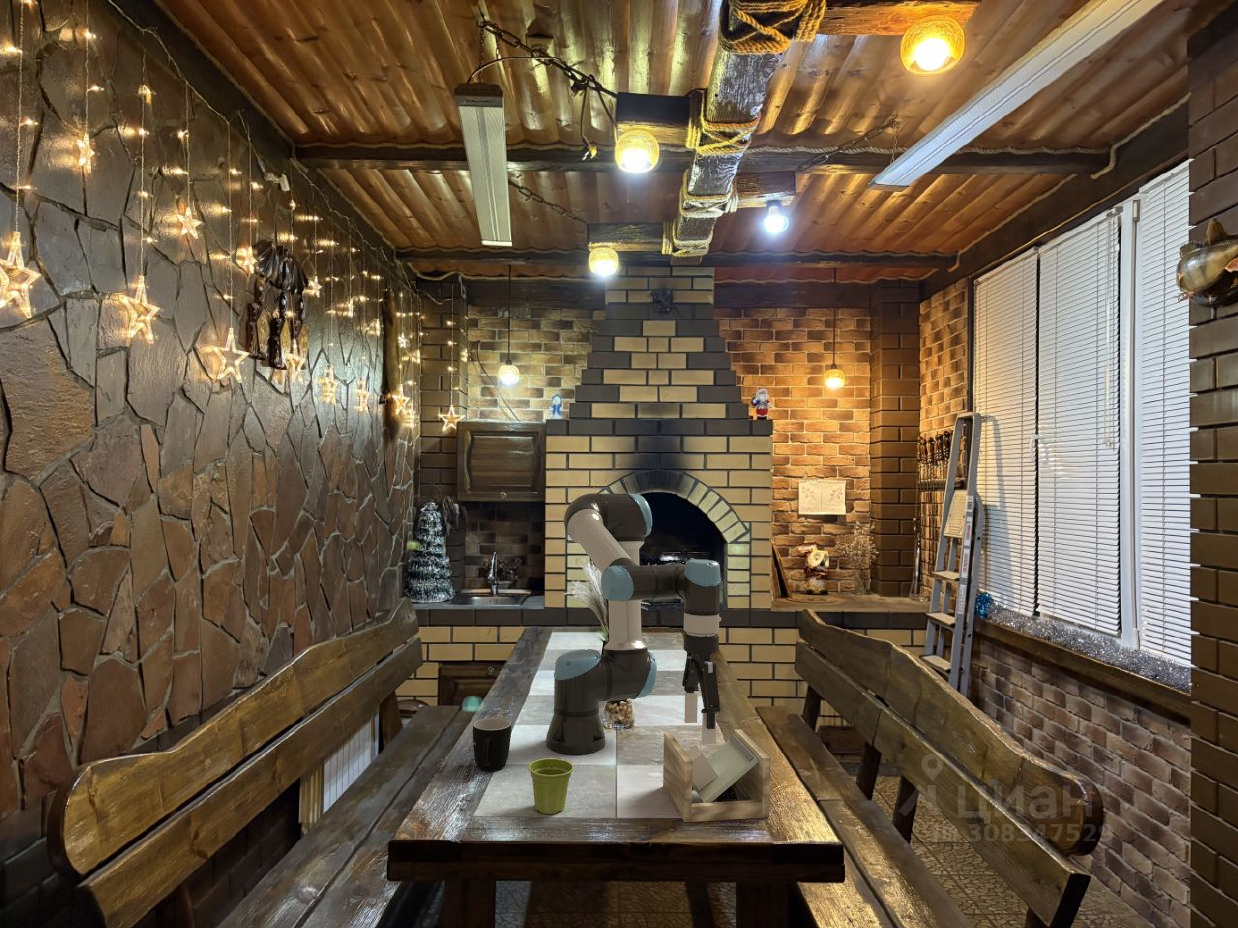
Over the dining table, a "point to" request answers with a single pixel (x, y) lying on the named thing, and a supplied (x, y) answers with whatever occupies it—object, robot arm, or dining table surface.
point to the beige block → (700, 768)
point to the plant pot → (550, 783)
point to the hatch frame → (749, 784)
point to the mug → (491, 743)
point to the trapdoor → (726, 768)
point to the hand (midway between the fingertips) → (699, 732)
